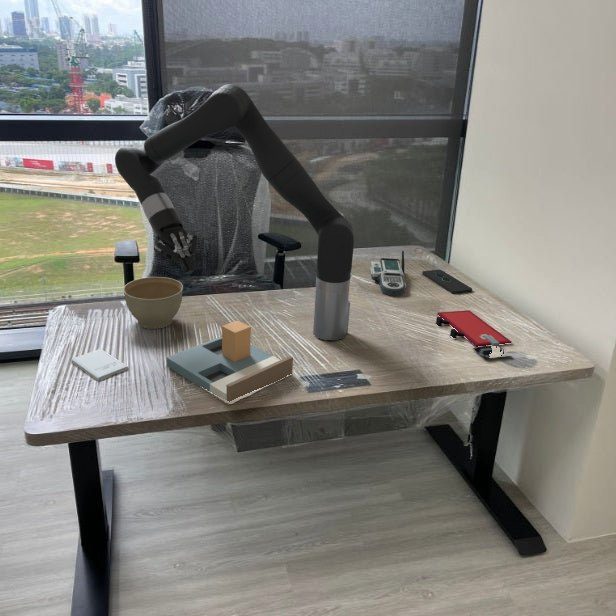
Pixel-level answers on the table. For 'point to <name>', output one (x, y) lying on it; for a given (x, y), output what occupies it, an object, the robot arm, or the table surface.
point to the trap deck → (229, 369)
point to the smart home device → (447, 281)
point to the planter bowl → (153, 300)
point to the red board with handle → (472, 330)
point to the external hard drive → (99, 364)
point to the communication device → (389, 275)
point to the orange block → (236, 340)
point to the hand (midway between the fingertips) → (190, 271)
